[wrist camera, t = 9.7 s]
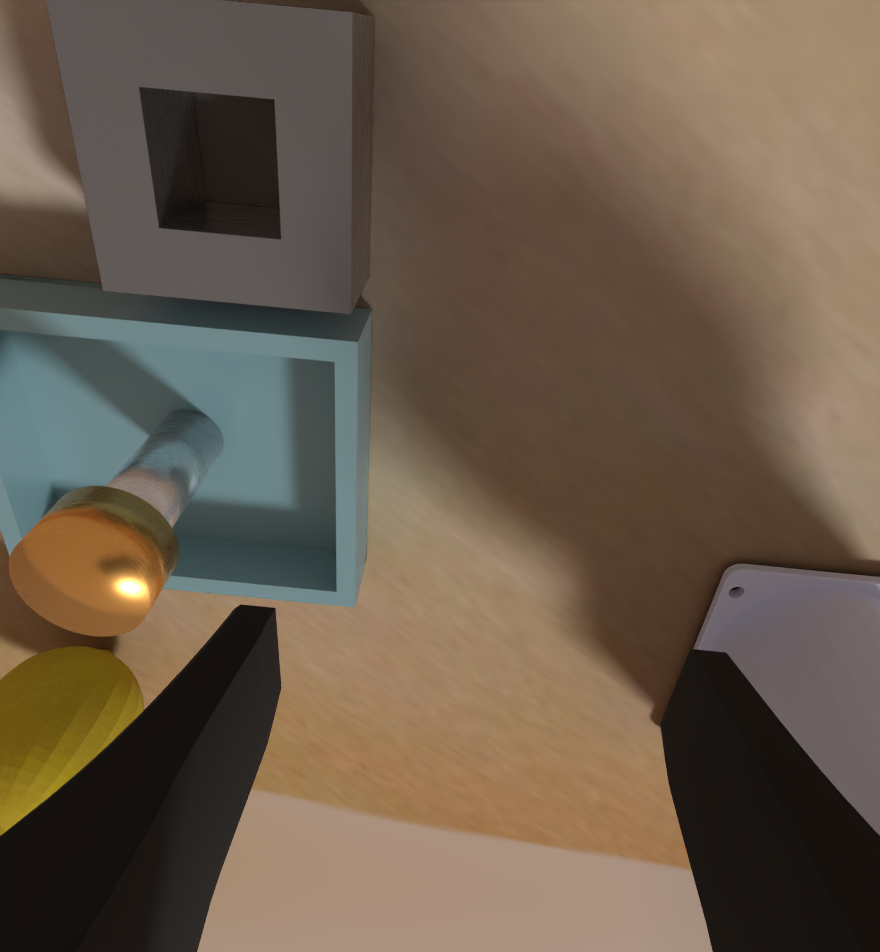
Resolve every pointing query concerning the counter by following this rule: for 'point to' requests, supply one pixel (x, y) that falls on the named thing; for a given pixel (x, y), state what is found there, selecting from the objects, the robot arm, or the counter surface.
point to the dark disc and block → (178, 154)
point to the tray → (211, 393)
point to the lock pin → (117, 534)
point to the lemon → (59, 721)
